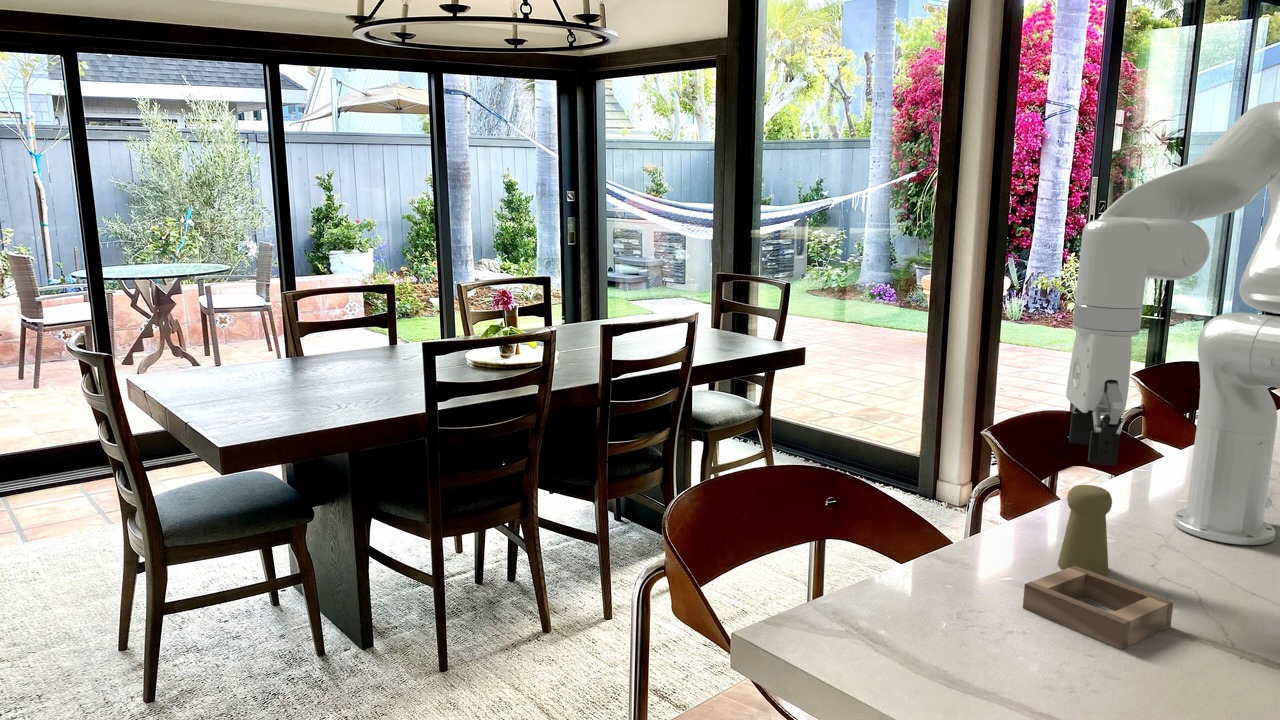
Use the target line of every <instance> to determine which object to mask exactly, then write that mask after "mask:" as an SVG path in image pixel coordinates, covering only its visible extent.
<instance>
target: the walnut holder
mask: <svg viewBox="0 0 1280 720" xmlns="http://www.w3.org/2000/svg"><path fill="white" fill-rule="evenodd" d="M1023 589H1024V591H1023V601H1022V608H1023V609H1025V610H1027V611H1029V612H1032V613H1034V614H1036V615H1039V616H1041V617H1044V618H1045V619H1047V620H1050V621H1053V622H1056V623H1058V624H1060V625H1063V627H1064V626H1065V627H1067V628H1069V629H1072V630H1074V631H1077V632H1078V633H1081V634H1083V635H1085V636H1088V637H1090V638H1092V639H1096V640H1097V641H1100V642H1102V643H1104V644H1107V645H1109V646H1111V647H1114V648H1116V649H1118V650H1123V649H1126V648H1128V647H1129V646H1132V645H1134V644H1136V643H1138V642H1141V641H1143V640H1144V639H1145V640H1146V639H1147V638H1149V637H1151V636H1154V635H1155V634H1159V632H1162V631H1164V630H1165V629H1168V628H1170V627H1171V626H1172V618H1173V617H1172V616H1173V611H1174V610H1173V609H1174V600H1169V599H1167V598H1165V597H1162V596H1160V595H1159V596H1158V595H1156V594H1153V593H1150V592H1148V591H1145V590H1142V589H1140V588H1137V587H1135V586H1132V585H1129V584H1126V583H1124V582H1121V581H1119V580H1115V579H1112V578H1109V577H1108V576H1102V575H1099V574H1096V573H1094V572H1091V571H1088V570H1085V569H1083V568H1080V567H1077V566H1072V567H1070V568H1067V569H1064V570H1062V569H1060V570H1059V571H1057V572H1053V573H1051V574H1048V575H1045V576H1043V577H1039V578H1037V579H1034V580H1032V581H1029V582H1026V583H1024V588H1023ZM1083 598H1085V599H1087V600H1090V601H1092V602H1094V603H1097V604H1099V605H1102V606H1105V607H1108V608H1110V609H1113V610H1114V611H1113V612H1108V611H1107V610H1104V609H1101V608H1098V607H1096V606H1094V605H1092V604H1089V603H1085V602H1083V601H1081V599H1083Z"/></svg>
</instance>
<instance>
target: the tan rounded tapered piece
mask: <svg viewBox="0 0 1280 720" xmlns="http://www.w3.org/2000/svg"><path fill="white" fill-rule="evenodd" d="M1066 500H1067V505H1068V507H1069V509H1070V513H1069V517H1068V520H1067V524H1066V528H1065V532H1064V536H1063V541H1062V545H1061V549H1060V552H1059V555H1058V556H1059V557H1058V560H1057V566H1059V567H1060V568H1059V569H1060V570H1064V569H1067V568H1070V567H1072V566H1077V567H1080V568H1083V569H1085V570H1088V571H1091V572H1094V573H1096V574H1099V575H1102V576H1105V577H1107V576H1108V574H1109V555H1108V553H1109V552H1108V534H1107V533H1108V532H1107V514H1109V512H1110V511H1111V509H1112V505H1113V498H1112V496H1111V494H1110V492H1109V491H1108V490H1107V489H1105V488H1103V487H1102V486H1097V485H1092V484H1078V485H1073V486H1072V487H1071V488H1070V490H1068V493H1067V497H1066Z"/></svg>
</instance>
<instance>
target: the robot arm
mask: <svg viewBox="0 0 1280 720" xmlns="http://www.w3.org/2000/svg"><path fill="white" fill-rule="evenodd" d="M1266 186H1267V190H1268V194H1269V199H1270V211H1269V217H1268V219H1267V222H1266V224H1265V227H1264V229H1263V231H1262V233H1261V235H1260V237H1259V239H1258V241H1257V243H1256V245H1255V248H1254V250H1253V252H1252V254H1251V256H1250V258H1249V260H1248V263H1247V265H1246V267H1245V269H1244V272H1243V274H1242V277H1241V280H1240V283H1239V287H1238V289H1239V296H1240V298H1241V300H1242V302H1243V303H1244V304H1246V305H1247V306H1248V307H1250V308H1253V309H1254V310H1255V309H1256V310H1258V311H1263V312H1267V313H1272V314H1280V101H1271V102H1267V103H1262V104H1258V105H1255V106H1254V107H1252V108H1250V109H1248V110H1247V111H1245V112H1244V113H1243V114H1242V115H1241V116H1240V117H1239V118H1238V119H1237V120H1236V121H1234V123H1233V124H1231V126H1230V127H1228V128H1227V129H1226V130H1225V131H1224V132H1223V133H1222V134H1221V135H1220V136H1219V138H1218V139H1216V140H1215V141H1214V142H1213V143H1212V144H1211V145H1210V146H1209V147H1208V148H1207V149H1205V150H1204V152H1202V154H1200V156H1198V157H1197V158H1195V160H1193V161H1192V162H1190V163H1187V164H1185V165H1182V166H1179V167H1177V168H1175V169H1171V170H1170V171H1168V172H1166V173H1163V174H1161V175H1159V176H1157V177H1155V178H1153V179H1149V180H1148V181H1145V182H1144V183H1141V184H1140V185H1139V184H1138V185H1137V186H1136V187H1134V188H1132V189H1130V190H1129V191H1127V192H1126V193H1124V194H1123V195H1121V196H1119V198H1118V199H1116V200H1115V201H1114V202H1113V203H1112V204H1111V205H1110V206H1109V207H1108V208H1106V210H1105V211H1104V212H1102V214H1101V215H1099V217H1098V218H1097V219H1092V220H1090V221H1089V222H1086V225H1085V226H1084V227H1083V230H1082V235H1081V245H1080V251H1079V253H1080V254H1079V262H1078V271H1077V283H1076V289H1075V290H1076V291H1075V301H1074V310H1073V317H1072V330H1073V331H1074V332H1076V334H1075V337H1074V342H1073V348H1072V353H1071V359H1070V365H1069V366H1070V367H1069V371H1068V378H1067V384H1066V391H1065V392H1066V393H1065V394H1066V399H1067V400H1068V401H1069V402H1070V403H1071V404H1072V409H1071V411H1072V412H1071V416H1070V417H1071V418H1070V428H1069V435H1068V441H1069V443H1070V444H1072V445H1073V444H1074V445H1088V446H1089V447H1088V455H1087V462H1088V463H1089V464H1090V465H1098V466H1099V465H1101V466H1102V465H1103V466H1117V464H1118V458H1119V457H1118V456H1119V450H1120V443H1121V442H1120V440H1121V433H1122V423H1123V417H1122V414H1123V413H1124V412H1125V411H1126V408H1127V407H1126V406H1127V402H1128V401H1127V400H1128V394H1129V387H1130V374H1131V364H1132V363H1131V361H1132V359H1131V358H1132V336H1134V337H1135V336H1139V335H1140V330H1141V322H1142V316H1143V315H1142V314H1143V306H1144V305H1143V304H1144V296H1145V287H1146V281H1147V279H1155V280H1165V281H1166V280H1167V281H1177V280H1178V281H1179V280H1182V279H1183V280H1184V279H1187V278H1189V277H1191V276H1193V275H1196V273H1198V272H1199V271H1200V270H1201V269H1202V268H1203V267H1204V265H1205V264H1206V263H1207V261H1208V258H1209V256H1210V255H1209V254H1210V251H1211V250H1210V249H1211V246H1210V245H1211V243H1210V239H1209V237H1208V234H1207V233H1206V232H1205V230H1204V229H1203V228H1202V227H1201V226H1199V225H1198V224H1196V223H1194V222H1195V221H1196V222H1197V221H1202V220H1207V219H1211V218H1215V217H1218V216H1219V217H1220V216H1222V215H1225V214H1229V213H1232V212H1236V211H1239V210H1240V209H1243V208H1244V207H1246V206H1247V205H1249V204H1250V202H1252V200H1253V199H1254V198H1255V197H1256V196H1258V194H1259V193H1261V191H1262V190H1263V189H1264V188H1265V187H1266ZM1197 356H1198V365H1199V366H1198V367H1199V379H1200V380H1199V382H1200V383H1199V385H1200V388H1199V402H1198V403H1199V404H1198V413H1197V421H1196V426H1195V427H1196V428H1195V438H1194V444H1193V445H1194V446H1193V453H1192V461H1191V471H1190V478H1189V479H1190V480H1189V485H1188V486H1189V487H1188V488H1189V489H1188V495H1187V501H1186V503H1187V504H1186V508H1183V509H1179V510H1176V511H1175V512H1174V513H1173V518H1172V522H1173V524H1174V525H1175V526H1176V527H1177V528H1178V529H1180V530H1181V531H1183V532H1186V533H1188V534H1190V535H1193V536H1196V537H1199V538H1201V539H1206V540H1208V541H1214V542H1216V543H1217V542H1218V543H1224V544H1230V545H1240V546H1259V545H1266V544H1269V543H1271V542H1273V541H1275V539H1276V529H1275V528H1274V527H1273V526H1272V525H1271V524H1269V523H1268V522H1265V521H1264V520H1265V516H1266V510H1267V509H1270V508H1271V507H1272V505H1273V502H1272V499H1271V498H1270V497H1269V496H1268V491H1269V485H1270V478H1271V477H1270V476H1271V470H1272V469H1271V468H1272V464H1273V463H1272V462H1273V456H1274V449H1275V448H1274V447H1275V440H1276V433H1277V427H1278V412H1277V411H1278V410H1277V406H1276V404H1275V401H1274V399H1273V397H1272V395H1271V393H1270V390H1269V389H1268V387H1271V388H1276V389H1280V316H1276V315H1268V314H1260V313H1252V312H1251V313H1250V312H1228V313H1221V314H1220V315H1217V316H1214V317H1213V318H1211V319H1210V320H1208V321H1207V322H1206V324H1205V325H1203V327H1202V329H1201V330H1200V334H1199V336H1198V340H1197Z"/></svg>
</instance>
